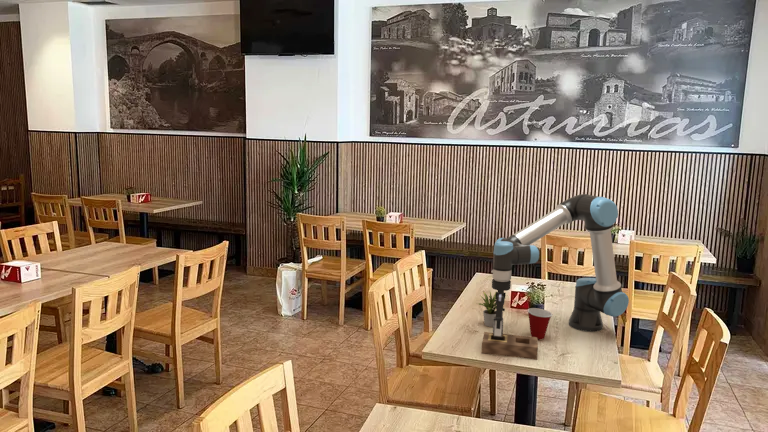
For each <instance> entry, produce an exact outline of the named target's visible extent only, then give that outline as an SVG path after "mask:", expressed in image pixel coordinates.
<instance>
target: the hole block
mask: <svg viewBox="0 0 768 432" xmlns="http://www.w3.org/2000/svg"><path fill="white" fill-rule="evenodd" d="M538 343H539V342H538V339H537V337H531V336H525V335H518V334H508V333H503V341H501V340H493V332H489V331H484V332H483V336H482V341H481V354H483V355H484V354H485V355H492V356H493V355H494V356H501V357H502V356H503V357H510V358H518V359H519V358H520V359H528V360H538V353H539V350H538V349H539V344H538Z"/></svg>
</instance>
